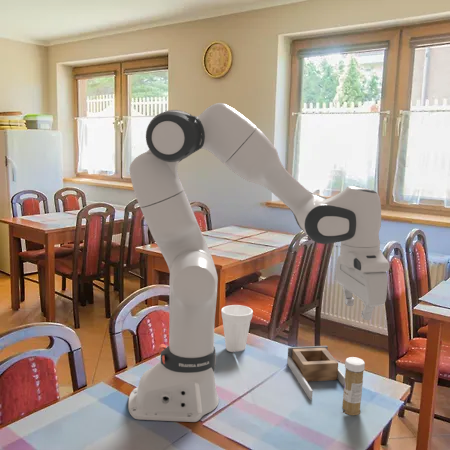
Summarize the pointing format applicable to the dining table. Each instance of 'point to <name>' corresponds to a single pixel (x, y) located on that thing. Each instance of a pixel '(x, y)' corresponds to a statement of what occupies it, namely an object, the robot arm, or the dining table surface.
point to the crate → (315, 364)
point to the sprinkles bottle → (353, 385)
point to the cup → (236, 326)
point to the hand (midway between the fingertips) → (357, 311)
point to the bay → (300, 376)
